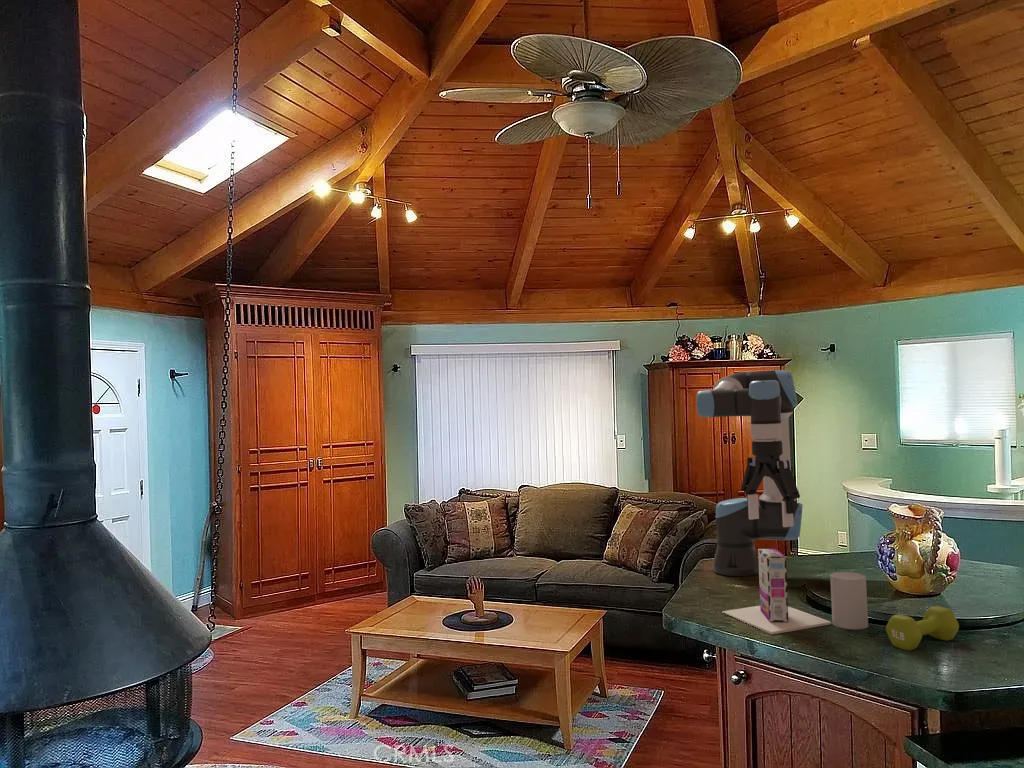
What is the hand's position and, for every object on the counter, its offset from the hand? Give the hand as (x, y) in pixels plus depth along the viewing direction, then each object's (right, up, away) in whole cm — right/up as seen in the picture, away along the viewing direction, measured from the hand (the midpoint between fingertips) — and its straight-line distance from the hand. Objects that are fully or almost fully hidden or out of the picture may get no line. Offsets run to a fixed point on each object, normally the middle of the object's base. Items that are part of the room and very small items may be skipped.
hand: (770, 522), depth 198 cm
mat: (+1, -25, 0) cm, 25 cm away
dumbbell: (+27, -24, -23) cm, 43 cm away
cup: (+17, -24, -7) cm, 31 cm away
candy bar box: (+1, -24, 0) cm, 24 cm away
